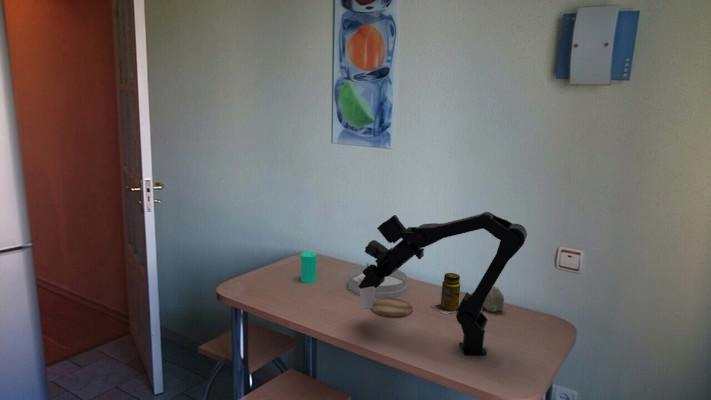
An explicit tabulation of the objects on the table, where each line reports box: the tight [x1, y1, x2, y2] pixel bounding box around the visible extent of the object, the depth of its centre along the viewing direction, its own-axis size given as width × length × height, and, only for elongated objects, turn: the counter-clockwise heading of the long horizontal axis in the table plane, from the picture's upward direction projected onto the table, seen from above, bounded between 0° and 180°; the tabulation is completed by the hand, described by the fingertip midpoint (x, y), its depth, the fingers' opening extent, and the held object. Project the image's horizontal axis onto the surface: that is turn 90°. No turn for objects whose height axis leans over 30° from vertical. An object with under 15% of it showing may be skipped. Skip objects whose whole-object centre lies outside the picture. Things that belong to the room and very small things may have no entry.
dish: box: [347, 265, 408, 299], centre depth 188 cm, size 22×22×5 cm
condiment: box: [430, 272, 461, 315], centre depth 170 cm, size 7×8×12 cm
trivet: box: [370, 297, 413, 319], centre depth 168 cm, size 14×14×1 cm
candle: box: [300, 251, 318, 284], centre depth 191 cm, size 6×6×12 cm
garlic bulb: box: [483, 284, 505, 312], centre depth 171 cm, size 9×8×10 cm
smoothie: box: [358, 263, 376, 310], centre depth 153 cm, size 6×6×14 cm
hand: (363, 284), depth 154 cm, fingers closed on smoothie, 6 cm apart
